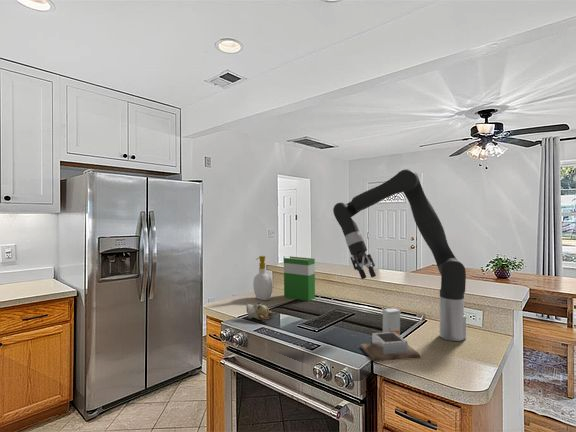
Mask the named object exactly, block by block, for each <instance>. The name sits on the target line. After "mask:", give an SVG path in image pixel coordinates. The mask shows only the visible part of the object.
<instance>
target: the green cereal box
mask: <svg viewBox="0 0 576 432" xmlns="http://www.w3.org/2000/svg"><path fill="white" fill-rule="evenodd" d="M315 260H316V259H315V258H310V257H303V256H302V257H301V256H300V257H299V256H292V255H291V256H289V258H288V257H283V291H284V292H283V298H289V299H295V300H300V301H306V302H309V301H312V300H314V299H315V298H316V272H315V271H316V270H315V269H316V267H315V266H316V265H315V263H316V262H315Z"/></svg>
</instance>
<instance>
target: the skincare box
mask: <svg viewBox="0 0 576 432" xmlns="http://www.w3.org/2000/svg"><path fill="white" fill-rule="evenodd" d="M383 332H396V333H397V334H398V335H399V336H401V310H399V309H397V308H386V309H385V308H384V309H382V333H383Z"/></svg>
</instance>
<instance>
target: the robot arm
mask: <svg viewBox="0 0 576 432" xmlns="http://www.w3.org/2000/svg"><path fill="white" fill-rule="evenodd" d="M400 193H404V195H405V197H406V199H407V200H408V202H409V206H410V210H411V212H412V213H411V214H412V216H413V220H414V223H415V225H416V227H417V228H418V231H419V232H420V235H421V237H422V239H423V240H424V242H425V243H426V245H427V246H428V248H429V250H430V251H431V253H432V256H433V258H434V260H435V263H436V264H435V265H436V267H437V269H438V272H439V274H440V276H441V281H440V289H439V337H440V338H442V339H444V340H446V341H451V342H461V341H463V340H467V316H466V315H465V311H464V310H465V307H464V306H465V292H466V283H467V282H466V280H467V279H466V277H467V272H466V268H465V265H464V264H463V263H462V262H461V261H460V260H458V259H457V258H456V256H455V254H454V253H453V251H452V249H451V247H450V246H449V243H448V240H447V237H446V232H445V230H444V229H445V228H444V226H443V223H442V222H441V220H440V218H439V216H438V214H437V212H436V211H435V209H434V206H433V205H432V204H431V202H430V201H429V199H428V197H427V196H426V194H425V192H424V189H423V187H422V185H421V181H420V179H419V175H418V173H417V172H416V171H415V170H413V169H410V168H407V169H402V170H400V171H399V172H398V173H396V174H395V175H394V176H393V177H390V179H388V180H387V181H385V182H383V183H381V184H380V185H377V186H375V187H373V188H370V189H368V190H366V191H364V192H362V193H359V194H358V195H356V196H354V197H352V199H351V201H349V202H348V203H345V202H337V203H336V204H335V205H334V207H333V209H332V212H333V216H334V218H335V219H336V222H337V224H338V225H339V226H340V228H341V230H342V231H341V232H342V234H343V235H344V239H345V243H346V245H347V248H348V250H349V253H350V255H351V256H350V261H351V264H352V267H353V269H354V270H355V271H357V272H358V273H359V276H360V279H361V280H364V279H366V278H367V275H366V272H365V269H364V267H366V268H367V269H368V272H369V275H370V278H375V277H376V272H375V270H374V267H376V264H375V262H374V260H373V258H372V256H371V253H369V254H367V253H366V252H367V251H368V249H367V246H366V243H365V241H364V239H363V235H362V234H361V232H360V230H359V227H358V224H357V222H355V220H353V218H352V217H354V216H355V215H357V214H358V213H359V212H361V211H363V210H365V209H368V208H370V207H372V206H374V205H376V204H378V203H379V202H381V201H383V200H385V199H387V198H390V197H391V196H395V195H397V194H400Z"/></svg>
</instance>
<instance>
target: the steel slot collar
mask: <svg viewBox="0 0 576 432" xmlns="http://www.w3.org/2000/svg"><path fill="white" fill-rule="evenodd" d="M371 337H372V339H371V341H372V342H371V343H372V345H373V346H374V347H375V348H376V349H377V350H378V351H379V352H380V353H381V354H382V355H383V356H387V355H399V354H407V344H408V340H406V339H404V337H402V336H401V335H400V336H399V335H398V334H397V333H396V332H383V331H382V332H373V333H372V334H371Z"/></svg>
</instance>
